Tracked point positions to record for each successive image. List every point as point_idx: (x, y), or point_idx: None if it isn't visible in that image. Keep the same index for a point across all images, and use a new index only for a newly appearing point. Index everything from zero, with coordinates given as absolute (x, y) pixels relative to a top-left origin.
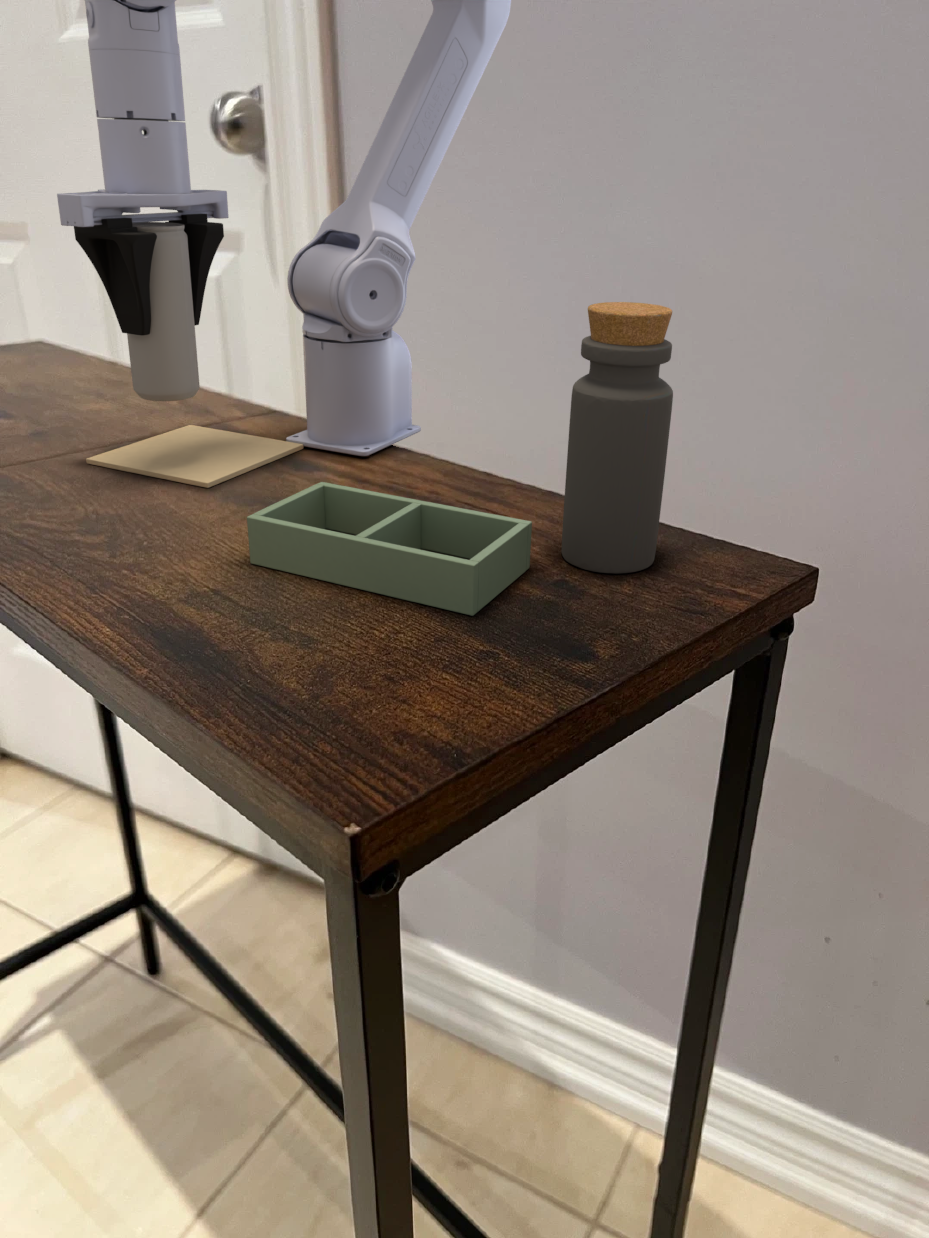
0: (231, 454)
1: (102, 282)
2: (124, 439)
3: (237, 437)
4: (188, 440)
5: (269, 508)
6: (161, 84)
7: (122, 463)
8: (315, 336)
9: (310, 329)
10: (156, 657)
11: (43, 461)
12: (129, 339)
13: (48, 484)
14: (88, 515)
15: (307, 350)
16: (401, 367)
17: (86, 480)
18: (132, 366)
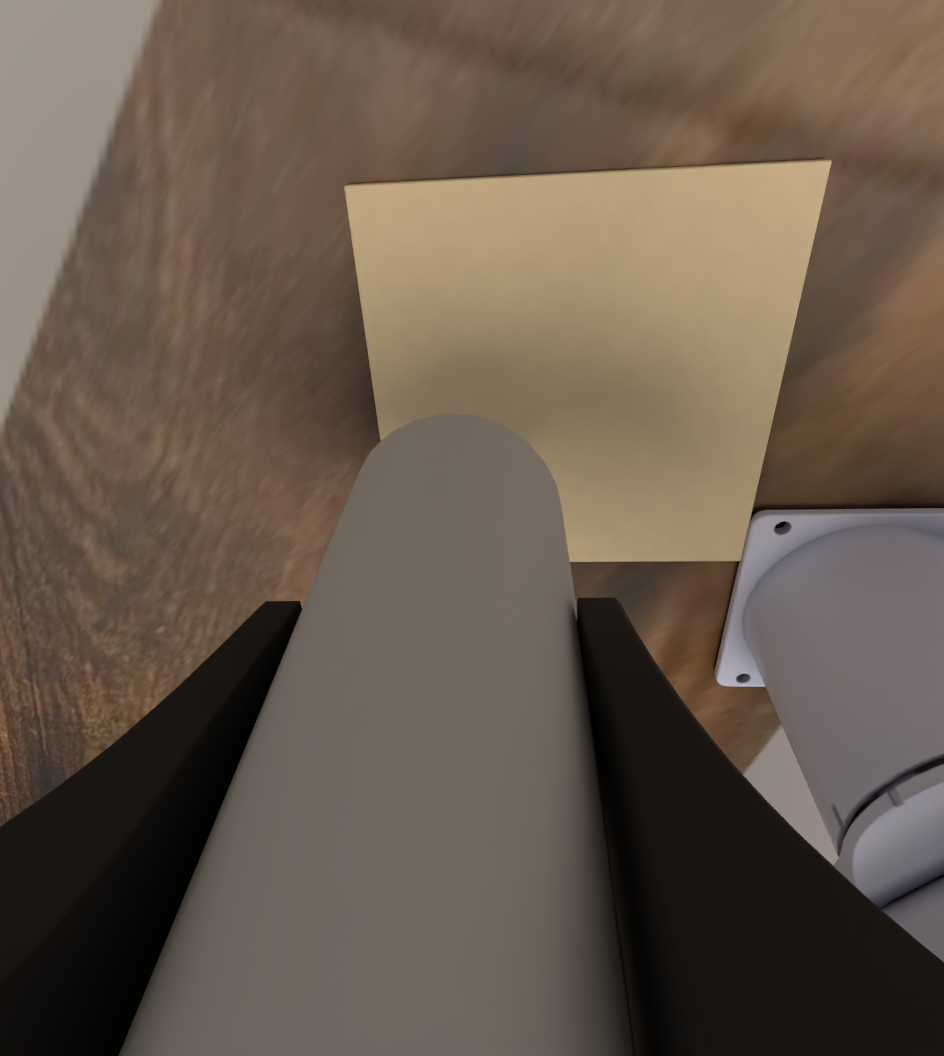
0: (588, 483)
1: (103, 752)
2: (615, 41)
3: (735, 402)
4: (649, 306)
5: None
6: None
7: (378, 317)
8: (857, 823)
9: (918, 809)
10: (23, 788)
11: (275, 23)
12: (317, 572)
13: (179, 250)
14: (151, 483)
15: (867, 747)
16: None
17: (264, 307)
18: (341, 514)
